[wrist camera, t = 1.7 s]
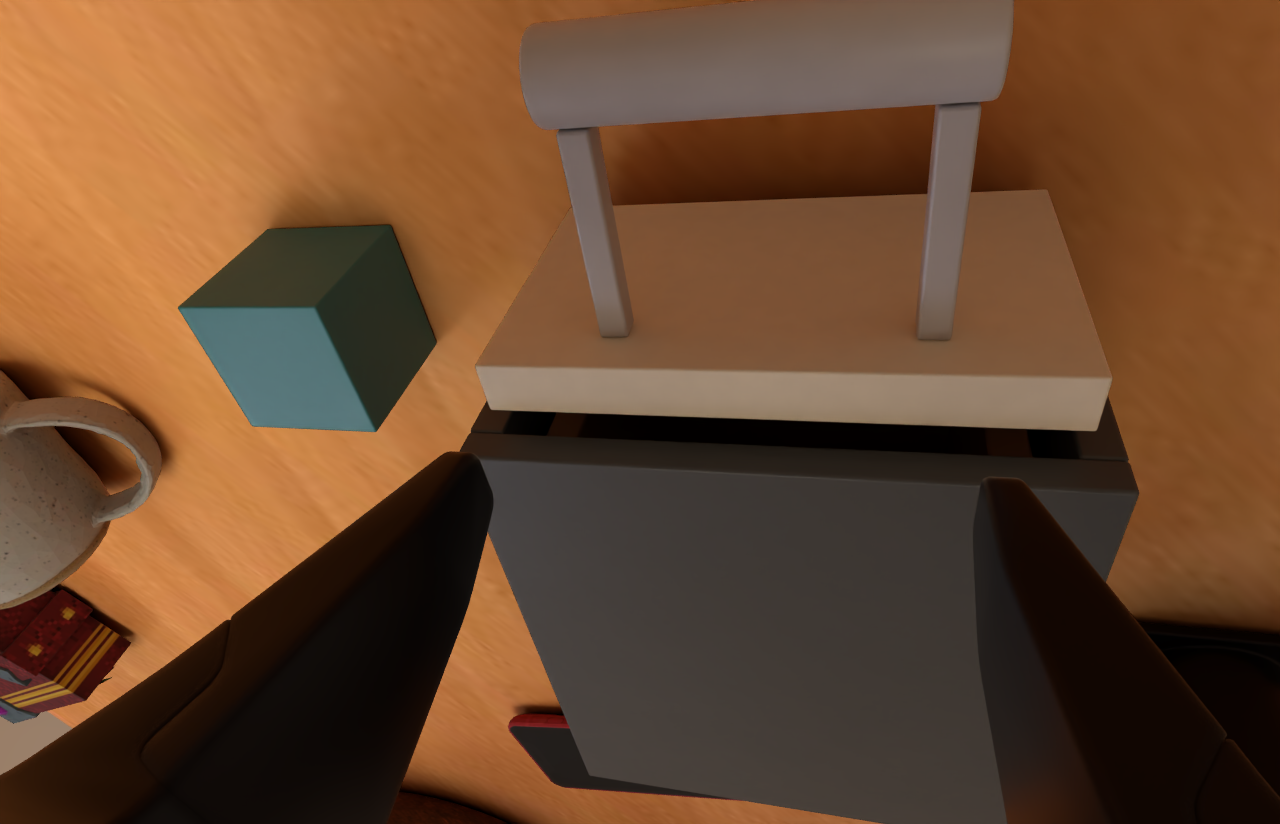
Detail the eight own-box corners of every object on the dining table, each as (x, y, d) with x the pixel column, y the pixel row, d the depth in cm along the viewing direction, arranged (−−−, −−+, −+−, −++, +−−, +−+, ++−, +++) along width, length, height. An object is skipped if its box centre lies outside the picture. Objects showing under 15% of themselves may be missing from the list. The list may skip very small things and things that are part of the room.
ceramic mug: (49, 498, 39) (-86, 631, 33) (-86, 368, 34) (-272, 500, 28) (215, 492, 35) (95, 639, 30) (93, 348, 30) (-78, 492, 25)
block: (391, 224, 23) (314, 307, 20) (437, 343, 26) (376, 433, 23) (267, 228, 24) (175, 307, 21) (324, 342, 27) (251, 427, 24)
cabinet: (571, 246, 22) (454, 456, 16) (1056, 235, 19) (1141, 493, 13) (644, 566, 32) (588, 776, 26) (979, 595, 28) (1007, 845, 22)
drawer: (514, -43, 17) (365, 64, 12) (1109, -120, 14) (1235, -19, 9) (644, 539, 29) (597, 709, 24) (973, 565, 26) (994, 765, 21)
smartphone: (807, 806, 41) (554, 787, 46) (808, 789, 42) (559, 772, 47) (776, 735, 37) (501, 723, 42) (777, 717, 37) (507, 708, 43)
